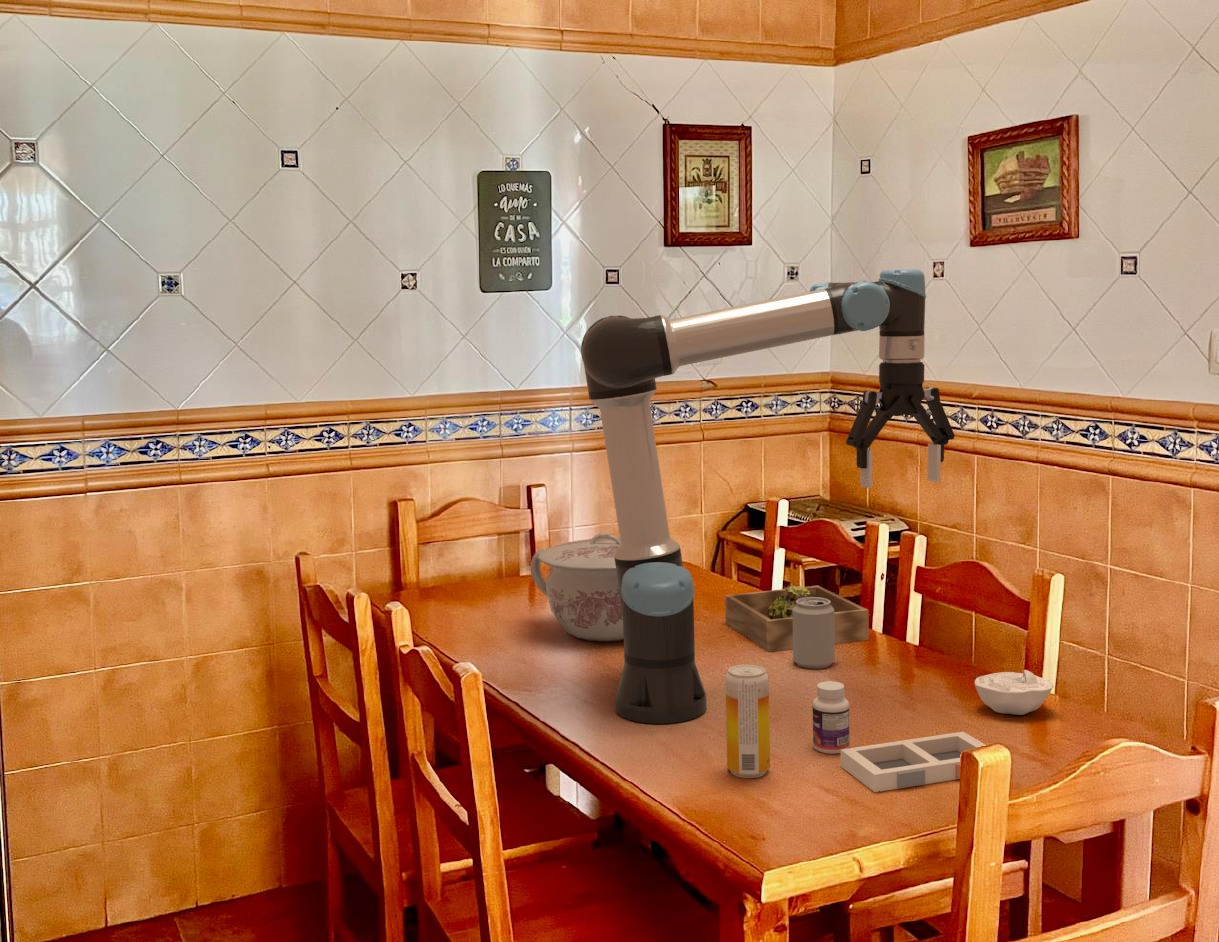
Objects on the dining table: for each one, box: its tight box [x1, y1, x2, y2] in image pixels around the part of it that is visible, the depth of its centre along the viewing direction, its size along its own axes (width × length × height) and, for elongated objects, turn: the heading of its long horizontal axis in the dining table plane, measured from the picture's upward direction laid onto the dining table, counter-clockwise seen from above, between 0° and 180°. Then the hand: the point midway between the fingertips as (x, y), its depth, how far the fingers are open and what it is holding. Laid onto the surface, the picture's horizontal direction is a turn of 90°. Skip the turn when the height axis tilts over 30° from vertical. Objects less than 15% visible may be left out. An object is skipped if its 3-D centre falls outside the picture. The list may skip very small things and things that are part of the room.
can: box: [792, 597, 836, 670], centre depth 225 cm, size 8×8×12 cm
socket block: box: [840, 731, 987, 793], centre depth 175 cm, size 20×10×2 cm, turn 107°
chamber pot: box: [529, 532, 624, 643], centre depth 250 cm, size 28×28×21 cm
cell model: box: [974, 669, 1055, 716], centre depth 197 cm, size 10×12×7 cm
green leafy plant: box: [767, 584, 810, 619], centre depth 247 cm, size 17×16×10 cm
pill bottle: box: [812, 680, 850, 755], centre depth 184 cm, size 5×5×10 cm
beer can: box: [724, 664, 771, 779], centre depth 176 cm, size 6×6×15 cm
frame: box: [724, 585, 870, 653], centre depth 247 cm, size 21×22×6 cm
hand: (900, 484), depth 214 cm, fingers open, 13 cm apart
